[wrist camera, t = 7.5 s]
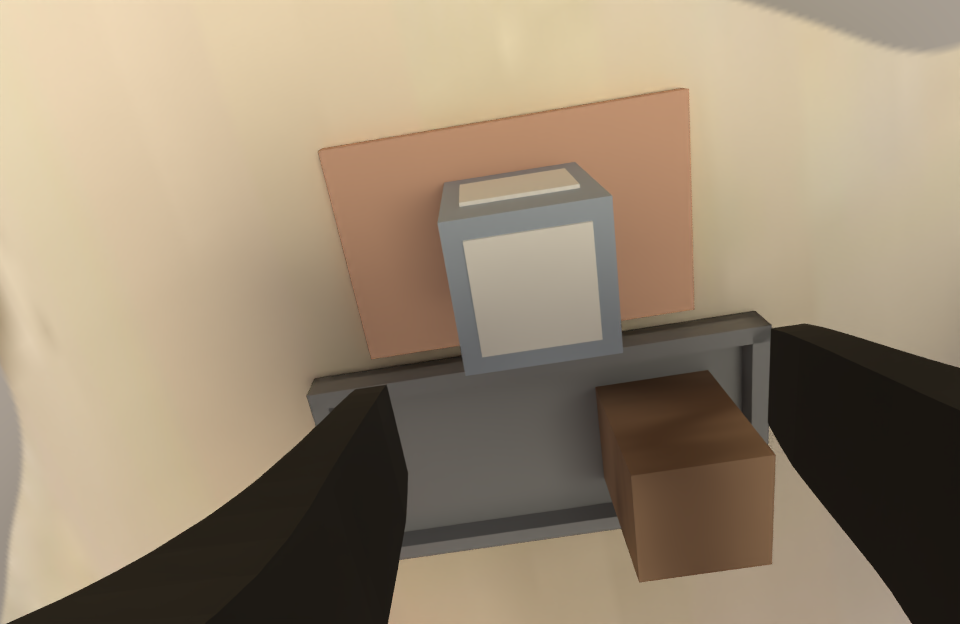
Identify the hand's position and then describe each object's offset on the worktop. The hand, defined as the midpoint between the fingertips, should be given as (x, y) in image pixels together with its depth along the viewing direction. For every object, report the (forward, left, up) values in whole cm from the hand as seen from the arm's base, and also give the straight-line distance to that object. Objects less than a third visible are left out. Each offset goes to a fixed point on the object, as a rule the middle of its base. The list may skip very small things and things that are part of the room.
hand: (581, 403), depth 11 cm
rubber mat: (0, -1, -9) cm, 9 cm away
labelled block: (0, -1, -9) cm, 9 cm away
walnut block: (-4, +7, -9) cm, 12 cm away
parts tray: (0, +7, -9) cm, 12 cm away
